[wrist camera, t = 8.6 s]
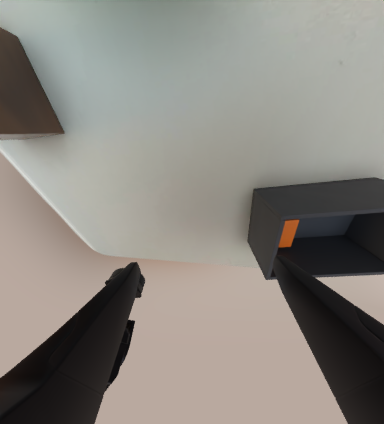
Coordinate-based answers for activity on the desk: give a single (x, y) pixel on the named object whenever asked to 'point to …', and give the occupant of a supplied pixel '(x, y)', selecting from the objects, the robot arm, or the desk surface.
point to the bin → (321, 227)
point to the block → (288, 232)
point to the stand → (22, 95)
